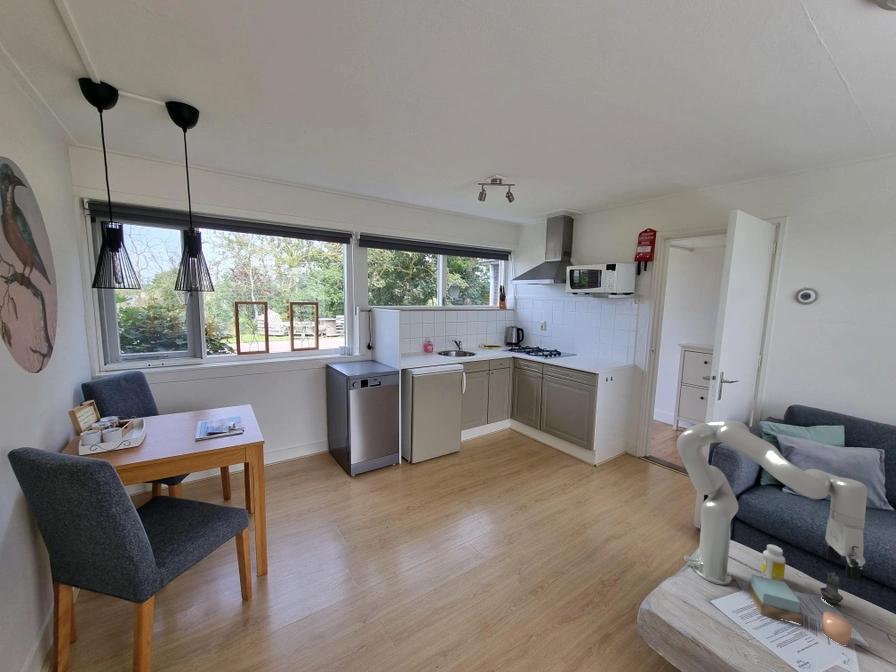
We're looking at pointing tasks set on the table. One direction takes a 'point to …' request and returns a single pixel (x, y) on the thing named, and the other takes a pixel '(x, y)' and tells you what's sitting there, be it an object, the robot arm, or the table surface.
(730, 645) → the table surface
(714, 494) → the robot arm
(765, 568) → the supplement bottle
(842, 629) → the brown egg
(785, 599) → the tower top block
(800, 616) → the tower base block
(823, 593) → the dark grey figurine
